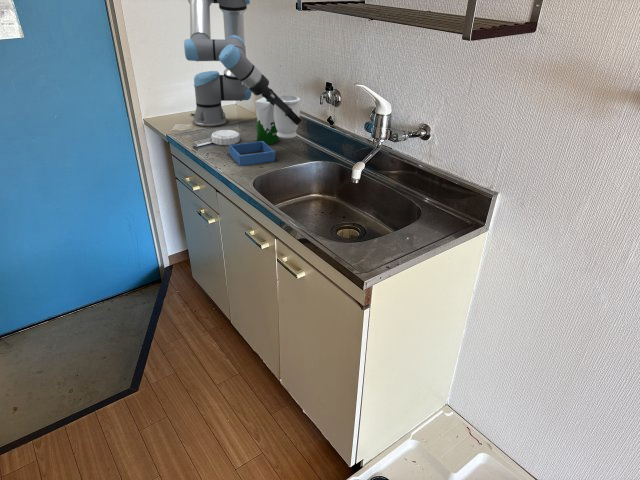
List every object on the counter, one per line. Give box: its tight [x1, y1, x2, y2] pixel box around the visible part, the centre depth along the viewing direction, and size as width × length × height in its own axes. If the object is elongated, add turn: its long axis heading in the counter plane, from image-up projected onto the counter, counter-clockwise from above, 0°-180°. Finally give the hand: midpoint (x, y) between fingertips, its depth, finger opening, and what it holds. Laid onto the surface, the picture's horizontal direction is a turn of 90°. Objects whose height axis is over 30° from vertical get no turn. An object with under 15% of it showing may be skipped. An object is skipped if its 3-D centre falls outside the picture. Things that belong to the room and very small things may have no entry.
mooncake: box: [210, 129, 241, 146], centre depth 205 cm, size 12×12×4 cm
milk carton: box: [254, 96, 280, 146], centre depth 203 cm, size 9×9×20 cm
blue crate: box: [228, 141, 276, 167], centre depth 189 cm, size 14×15×4 cm
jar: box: [274, 94, 301, 139], centre depth 188 cm, size 11×10×15 cm
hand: (293, 118), depth 190 cm, fingers closed on jar, 10 cm apart
